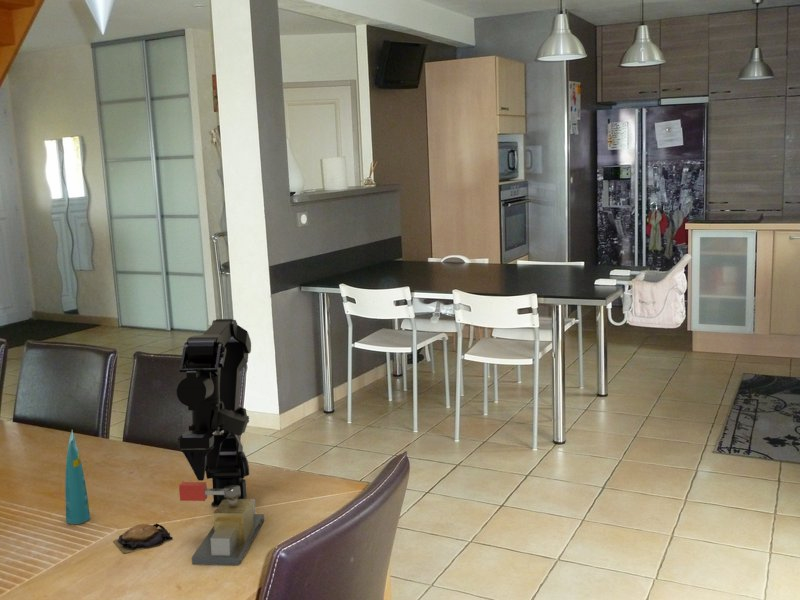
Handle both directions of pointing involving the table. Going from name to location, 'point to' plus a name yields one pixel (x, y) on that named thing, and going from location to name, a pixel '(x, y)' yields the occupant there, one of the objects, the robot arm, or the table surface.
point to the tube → (75, 486)
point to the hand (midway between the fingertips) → (207, 474)
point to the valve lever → (205, 491)
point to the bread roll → (142, 538)
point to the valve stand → (229, 533)
